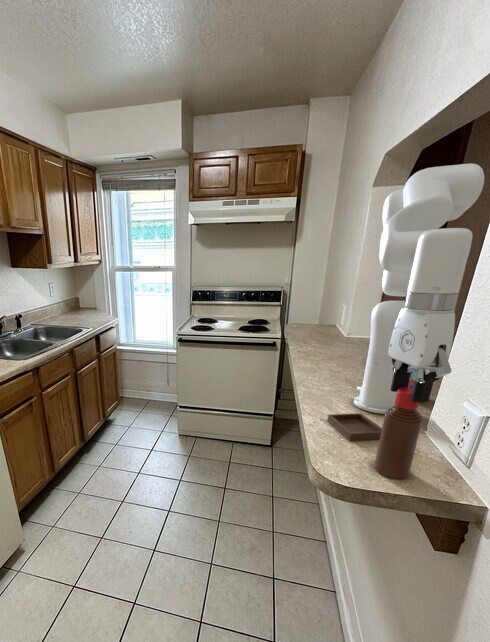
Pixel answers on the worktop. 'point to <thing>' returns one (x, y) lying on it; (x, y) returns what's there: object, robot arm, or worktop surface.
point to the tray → (355, 426)
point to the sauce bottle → (398, 442)
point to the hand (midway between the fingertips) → (408, 395)
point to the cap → (405, 399)
